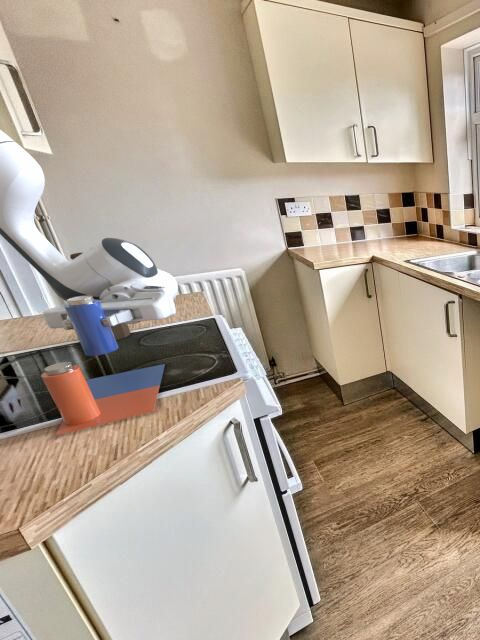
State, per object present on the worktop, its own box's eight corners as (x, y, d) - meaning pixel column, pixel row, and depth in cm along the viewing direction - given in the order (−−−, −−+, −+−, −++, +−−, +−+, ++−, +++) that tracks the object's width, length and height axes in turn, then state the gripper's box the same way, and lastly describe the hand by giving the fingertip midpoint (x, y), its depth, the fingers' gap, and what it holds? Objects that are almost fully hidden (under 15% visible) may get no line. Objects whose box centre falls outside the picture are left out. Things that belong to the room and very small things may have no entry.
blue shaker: (82, 358, 81) (57, 303, 77) (88, 349, 85) (65, 297, 80) (116, 352, 83) (94, 298, 79) (120, 344, 87) (99, 292, 83)
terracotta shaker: (61, 428, 77) (34, 374, 73) (68, 415, 81) (43, 364, 77) (97, 419, 79) (73, 367, 75) (103, 408, 83) (80, 357, 79)
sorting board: (55, 438, 75) (54, 435, 75) (88, 381, 95) (87, 379, 95) (154, 413, 82) (153, 411, 82) (165, 365, 102) (164, 363, 102)
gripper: (65, 293, 90) (13, 313, 77) (175, 285, 94) (142, 303, 82) (78, 321, 92) (29, 345, 80) (184, 312, 97) (153, 333, 84)
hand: (87, 324), depth 81 cm, fingers closed on blue shaker, 5 cm apart
